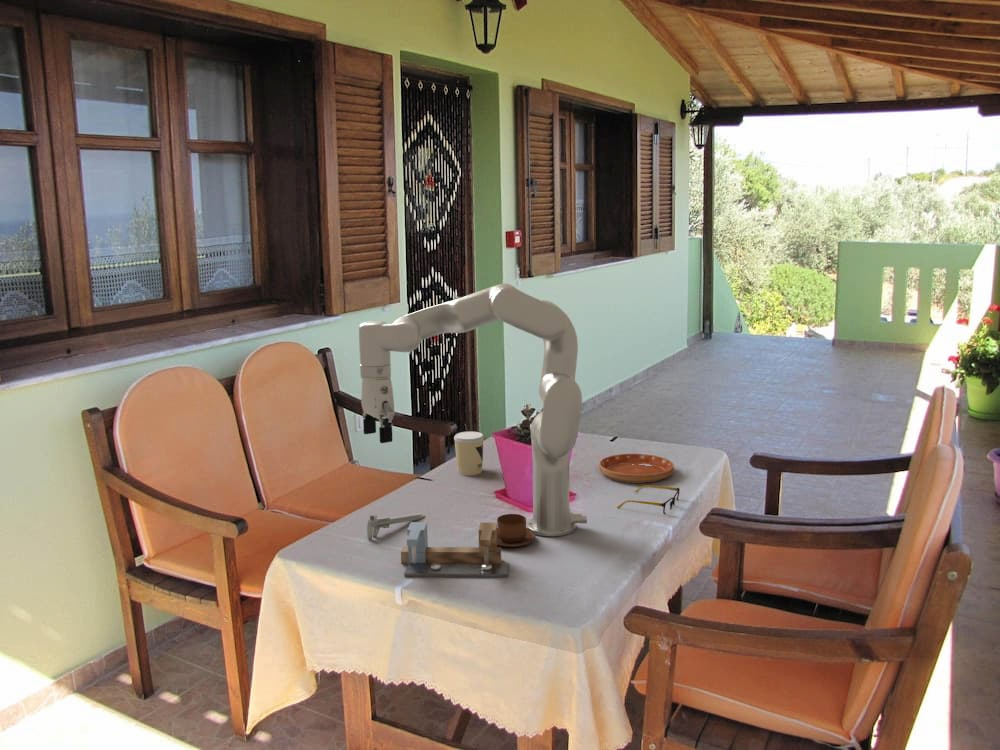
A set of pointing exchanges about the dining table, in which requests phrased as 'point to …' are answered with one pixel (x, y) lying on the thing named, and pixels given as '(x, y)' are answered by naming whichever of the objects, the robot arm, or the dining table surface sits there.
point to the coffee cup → (469, 452)
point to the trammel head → (417, 542)
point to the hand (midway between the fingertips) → (377, 437)
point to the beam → (465, 550)
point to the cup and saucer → (513, 531)
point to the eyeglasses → (654, 502)
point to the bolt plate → (456, 570)
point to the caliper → (387, 522)
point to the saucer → (636, 467)
